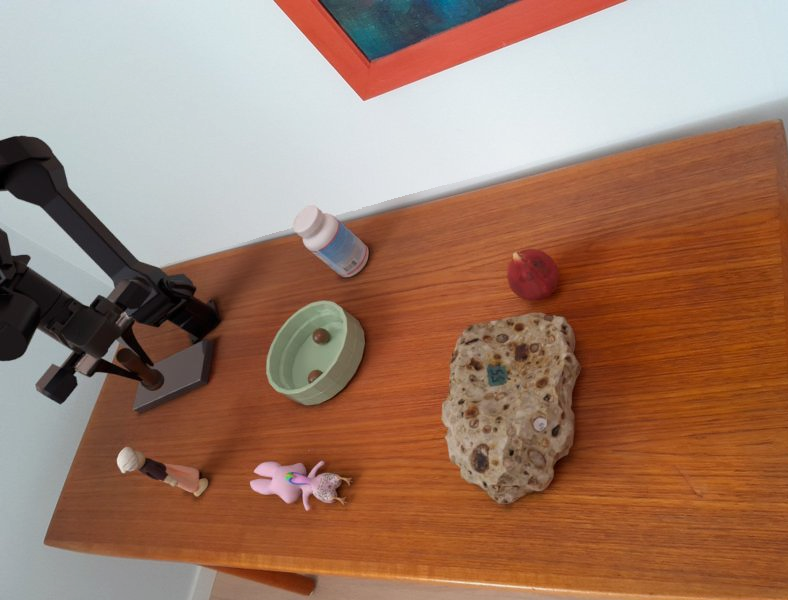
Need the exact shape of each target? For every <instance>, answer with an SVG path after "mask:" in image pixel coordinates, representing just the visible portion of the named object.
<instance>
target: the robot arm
mask: <svg viewBox="0 0 788 600" xmlns="http://www.w3.org/2000/svg"><path fill="white" fill-rule="evenodd" d="M0 192H9V194H11V195H12V196H13V197H15V199H17V200H19V201H22V202H25V203H27V204H31V205H34V206H38V207H40V208H41V209H42V210H43V211H44V212H45V214H47V215H48V216H49V217H50V218H51V219H52V221H54V222H55V223H56V224H57V226H59V228H61V229H62V230H63V231H64V233H65V234H67V236H68V237H69V238H70V239H72V241H73V242H74V243H75V244H76V245H77V246H78V247H79V248H80V249H81V250H82V252H84V253H85V254H86V255H87V256H88V257H89V258H90V259H91V260H92V261H93V263H95V265H96V266H98V267H99V268H100V270H102V271H103V273H105V274H106V275H107V277H108V278H109V279H110V280H111V281H112V284H113V286H114V288H113V290H112V291H111V292H110V293H109V294H108V296H106V297H105V296H103V295H101V294H98V295H97V296H96V297H95V298H94V299H93V301H92V302H91V303H90V304H89V305H86V304H84V303H82V302H81V301H79V300H78V299H77V298H76V297H73V296H72V295H71V294H69V293H68V292H67V291H65V290H63V289H62V288H61V287H59V286H58V285H56V284H55V283H53V282H52V281H50V280H49V279H47V278H46V277H44V276H43V275H41V274H40V273H39V272H37V271H35V270H34V269H33V268H32V267H30V266H28V265H29V263H30V261H31V257H32V256H30V255H29V254H18V255H12V249H11V245H10V239H9V236H8V233H7V232H6V231H5V230H4V229H2V228H1V227H0V362H11V361H15V360H18V359H20V358H21V357H23V356H24V355H25V353H26V352H27V350H28V348H29V346H30V344H31V343H32V341H33V340H32V339H33V337H34V336H35V333H36V332H37V330H39V331H40V332H41V333H43V334H45V335H47V336H48V337H50V338H51V339H53V340H55V341H56V342H58V344H61V345H62V346H64V347H65V348H67V349H69V350H70V351H72V352H70V354H69V355H68V357H67V358H66V359H65V360H64V362H63V363H62V364H61V365H60V366H59V365H56V364H54V363H52V364H51V365H49V367H48V368H47V369H46V371H45V372H44V373H43V374H42V375H41V376H40V378H39V379H38V380H37V381H36V383H35V384H34V385H35V390H36V391H37V392H38V393H39V394H41V395H43V396H45V397H46V398H48V399H50V400H51V401H53V402H55V403H56V404H58V405H62V404H63V403H65V402H66V401H67V399H68V398H69V397H70V396H71V395H72V394H73V392H74V391H75V390H76V388H77V387H78V386H79V384H78V379H77V376H76V375H75V374H76V373H78V374H81V375H83V376H85V377H87V378H92V377H93V376H94V375H95V374H96V373H101V374H110V375H115V376H119V377H123V378H126V379H130V380H133V381H136V382H139V381H140V382H142V381H143V379H142V378H140V377H139V376H137V375H136V374H134V373H132V372H130V371H129V370H128V369H126V368H123V367H121V366H119V365H116V364H114V363H113V362H110V361H108V360H107V359H104V358H103V357H105V356H106V355H107V354H108V352H109V349H110V348H111V346H112V345H113V344H114V343H115V342H116V341H117V342H118V343H119V344H120V345H121V346H122V347H123V348H129V349H131V350H132V351H133V352H134V353H135V354H136V355H137V356H138V357H139V358H140V359H142V360H143V361H144V362H145V363H146V364H147V365H148V366H151V367H153V366H154V364H155V363H154V362H153V361H152V359H151V358H150V357H149V355H148V354H147V352H146V351H145V349H143V347H142V346H141V344H140V343H139V341H138V339H137V337H136V335H135V333H134V330H133V326H134V325H135V322H136V323H138V324H139V325H140V324H142V325H145V326H150V327H153V328H157V329H158V328H160V327H161V325H163V324H164V323H165V322H166V321H168V322H170V323H171V324H173V325H174V326H177V327H178V328H180V329H182V331H185V332H186V333H188V336H189V341H190V344H191V345H192V346H193V345H195V344H197V343H199V342H200V340H201V339H203V338H204V337H205V336H206V335H207V334H208V333H210V332H211V330H212V329H214V328H215V327H216V326H217V325H218V324H219V323H220V321H221V320H220V315H219V311H218V308H217V304H216V300H215V299H213V298H211V299H210V300H208V301H207V302H206V303H205V302H204V301H202V300H201V299H200V298H197V296H195V294H196V292H197V287H196V286H195V285H194V282H193V280H191V279H190V277H188V276H187V275H186V274H185V273H177V274H172V275H168V274H167V273H166V272H165V271H164V270H162V268H160V267H158V266H155V265H152V264H150V263H146V262H142V261H140V260H139V259H138V258H137V257H136V256H135V255H134V254H133V253H132V252H131V251H130V249H128V248H127V246H125V245H124V244H123V242H121V240H119V238H117V237H116V236H115V234H114V233H113V232H112V231H111V230H110V229H109V228H108V227H107V226H106V224H104V223H103V222H102V220H100V219H99V218H98V216H97V215H96V214H95V213H94V212H93V211H92V210H91V209H90V208H89V206H87V205H86V204H85V203H84V202H83V200H82V199H81V198H79V196H77V194H76V193H75V192H74V191H73V190H72V188H71V187H70V186H69V181H68V179H67V174H66V170H65V167H64V165H63V163H62V162H61V161H60V160H59V159H58V157H57V156H56V155H55V154H54V152H53V150H52V148H51V147H50V146H49V145H48V143H47V142H45V141H44V140H43V139H41V138H39V137H37V136H30V135H29V136H27V135H13V136H10V137H7V138H3V139H0Z"/></svg>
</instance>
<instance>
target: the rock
mask: <svg viewBox="0 0 788 600" xmlns="http://www.w3.org/2000/svg"><path fill="white" fill-rule="evenodd" d="M576 344H577V341H576V335H575V333H574V330H573V327H572V326H571V324H569V323H568V321H567V319H566V318H565V317H564V316H557V315H555V314H552V315H549V314H546V313H545V312H530V313H526V314H523V315H516V316H511V317H510V316H509V317H505V318H501V319H497V320H491V321H482V322H479V323H472V324H470V325H468V326H467V327H466V328H465V329H464V330H463V331H462V332H461V334H460V335H459V337H458V339H457V341H456V342H455V348H454V350H453V352H452V354H451V357H450V361H449V373H450V374H449V377H448V378H449V384H448V391H447V395H446V398H445V400H444V401H443V402H442V404H441V421H442V423H443V425H444V426H445V428H446V429H447V431H446V435H445V436H444V439H445V440H446V444H447V451H448V457H449V461H450V462H451V465H457V466H458V468H459V470H460V478H461V479H462V480H465V481H466V482H467V483H468V484H474V485H475V486H478V487H479V488H481V489H482V490H484V491H485V492H486V493H487V495H488V496H489V497H490V498H491V499H492V500H494V501H495V502H496V503H498V504H499V505H501V506H502V505H508V504H509V505H510V504H511V503H514V502H516V501H517V500H519V499H521V498H522V497H525V496H526V495H530V494H532V493H533V492H534V491H536V492H542V491H544V490H545V489H547V488H548V487H549V485H550V484H551V483H552V481H553V479H554V475H555V470H554V466H555V465H556V462H557V461H559V460H560V459H562V458H563V457H565V456H568V454H569V453H570V449H571V448H572V447H573V445H574V436H575V413H574V411H573V410H572V404H573V391H574V387H575V386H576V381H577V379H578V377H579V375H580V373H581V369H582V366H581V365H580V362H579V360H578V359H577V358H576V355H575V349H576Z"/></svg>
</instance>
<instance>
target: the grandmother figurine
mask: <svg viewBox="0 0 788 600" xmlns="http://www.w3.org/2000/svg"><path fill="white" fill-rule="evenodd" d="M116 463H117V467H118V469H119V470H120V472H121V473H122V474H127V473H128V472H133V471H139V472H140V473H142V474H143V475H145V476H147V477H148V478H150V479H152V480H155V481H160V482H163V483H166V484H167V485H170V486H171V487H174V488H175V487H177V488H178V487H179V488H180V489H183V490H184V491H186V492H188V493H193V494H192V495H194V496H195V497H197V498H198V497H200V496H201V495H202V494H203V493H204V492H205V491H206V490H207V488H208V486H209V480H208V479H207V478H206V477H205V478H204V477H202V478H200V471H199V470H198V469H197V468H195V467H194V468H193V467H190V466H186V465H182V464H173V463H165V462H161V461H157V460H154V459H152V458H149V457H146V456H145V454H144V453H143V452H141V451H140V450H133V447H130V446H125V447H124V448H123V449H121V451H120V452H119V453H118V455H117V458H116Z"/></svg>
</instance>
